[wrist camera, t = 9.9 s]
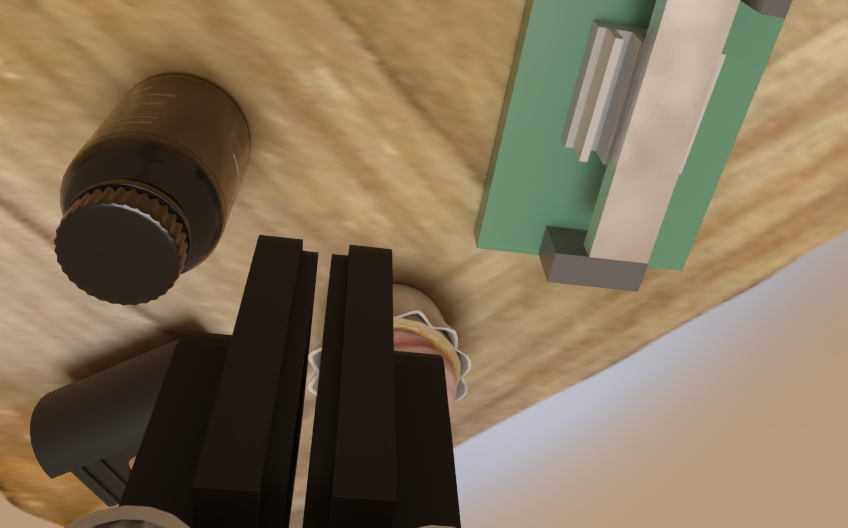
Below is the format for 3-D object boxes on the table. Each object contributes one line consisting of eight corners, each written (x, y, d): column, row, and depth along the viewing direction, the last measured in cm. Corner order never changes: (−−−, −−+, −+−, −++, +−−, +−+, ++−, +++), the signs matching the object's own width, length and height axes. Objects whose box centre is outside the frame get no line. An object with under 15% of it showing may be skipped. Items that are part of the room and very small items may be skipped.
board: (563, -163, 33) (602, -147, 27) (821, -116, 34) (911, -92, 28) (474, 234, 43) (488, 307, 38) (673, 256, 45) (717, 330, 39)
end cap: (192, 307, 45) (165, 384, 40) (254, 386, 49) (238, 467, 43) (55, 364, 47) (11, 446, 42) (125, 436, 51) (93, 520, 45)
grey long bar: (676, -74, 31) (690, -68, 30) (745, -62, 31) (762, -56, 30) (582, 243, 38) (590, 258, 37) (639, 249, 39) (648, 265, 37)
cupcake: (293, 274, 44) (272, 393, 36) (451, 247, 44) (467, 360, 35) (332, 391, 49) (322, 518, 41) (474, 367, 49) (493, 491, 41)
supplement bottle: (277, 162, 40) (242, 293, 30) (168, 210, 42) (100, 351, 32) (205, 45, 37) (138, 150, 27) (88, 102, 38) (-17, 223, 28)
